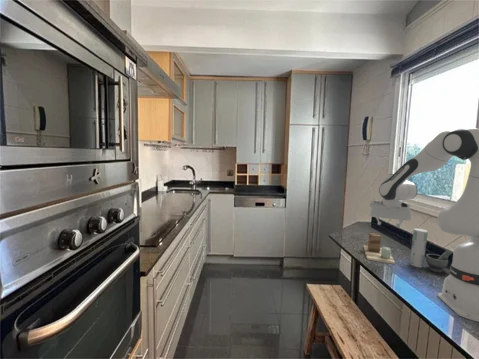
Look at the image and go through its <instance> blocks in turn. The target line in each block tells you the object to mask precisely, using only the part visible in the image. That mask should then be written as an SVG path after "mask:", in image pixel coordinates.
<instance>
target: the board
mask: <svg viewBox="0 0 479 359" xmlns="http://www.w3.org/2000/svg"><path fill="white" fill-rule="evenodd" d="M363 250H364V254H365V258H366V260H368V261H375V262H380V263H385V264H391V265H392V264H393V265H395V264H396V261H395V260H394V258H393V256H392V254H391V253H390V259H384V258H382V257H381V250H382V247H380V253H378V252H372V251H369V250H368V245H363Z"/></svg>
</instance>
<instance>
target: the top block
mask: <svg viewBox="0 0 479 359" xmlns="http://www.w3.org/2000/svg"><path fill="white" fill-rule="evenodd" d="M368 240H369V242H371V243H372V244H380V245H381V240H382V235H381V234H379V233H373V232H372V233H371V232H369V234H368Z"/></svg>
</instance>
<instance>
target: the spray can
mask: <svg viewBox="0 0 479 359" xmlns="http://www.w3.org/2000/svg"><path fill="white" fill-rule="evenodd" d="M428 233H429V230H427V229H424V228H413V231H412V240H411V241H412V242H411V249H410V258H409V265H411V266H412V267H416V268H423V267H424V264H425V258H426V256H425V255H426V249H427V248H426V247H427V240H428Z"/></svg>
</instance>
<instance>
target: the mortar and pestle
mask: <svg viewBox="0 0 479 359" xmlns="http://www.w3.org/2000/svg"><path fill="white" fill-rule="evenodd" d="M452 254H453V251H451V249H448V248H447V249H446V250H445V251H444V252H443V253H442V254H441V255H440V254H434V253H425V255H426V256H425V262H426V264H427V265H428V270H430V271H433V272H436V273H443V271H444V270H443V269H445V268H446V267H448V264H449V257H450V256H451V255H452Z"/></svg>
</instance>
